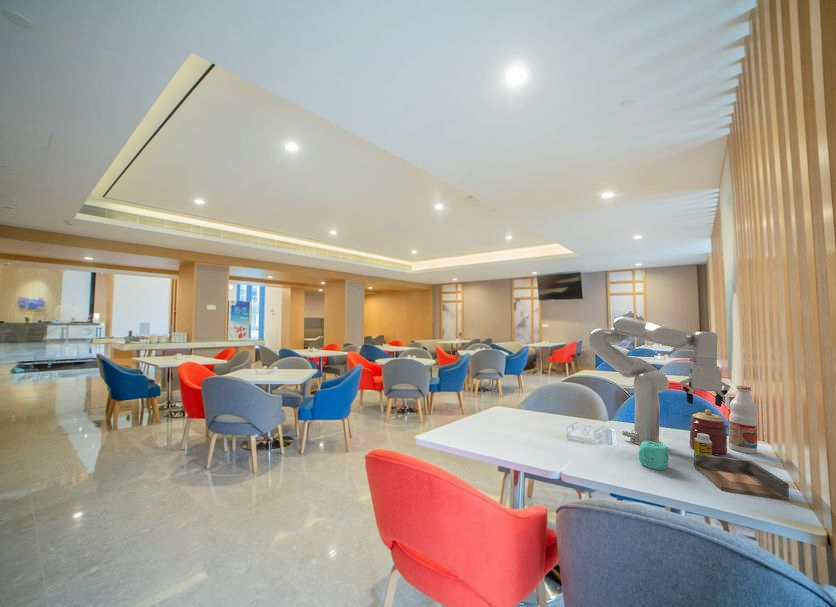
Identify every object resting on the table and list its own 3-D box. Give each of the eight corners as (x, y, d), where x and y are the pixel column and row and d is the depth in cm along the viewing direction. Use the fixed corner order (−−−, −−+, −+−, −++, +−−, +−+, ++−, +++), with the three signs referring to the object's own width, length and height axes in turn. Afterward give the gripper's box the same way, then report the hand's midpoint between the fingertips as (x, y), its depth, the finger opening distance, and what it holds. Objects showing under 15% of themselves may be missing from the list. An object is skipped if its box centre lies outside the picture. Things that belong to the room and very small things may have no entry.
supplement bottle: (697, 461, 146) (697, 435, 146) (691, 456, 151) (692, 431, 151) (714, 463, 144) (714, 437, 144) (707, 458, 149) (708, 433, 150)
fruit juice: (735, 445, 168) (736, 384, 169) (761, 452, 160) (762, 388, 161) (723, 447, 165) (725, 384, 166) (749, 455, 156) (750, 389, 157)
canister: (733, 458, 152) (734, 415, 152) (695, 452, 156) (696, 411, 156) (718, 447, 164) (719, 408, 165) (684, 443, 168) (685, 404, 169)
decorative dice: (668, 466, 139) (669, 445, 139) (663, 472, 134) (663, 450, 134) (644, 460, 145) (645, 439, 145) (638, 465, 139) (639, 443, 140)
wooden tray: (721, 490, 121) (721, 474, 121) (693, 466, 140) (693, 453, 140) (788, 500, 116) (788, 484, 116) (750, 474, 135) (750, 460, 135)
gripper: (684, 361, 148) (683, 404, 147) (735, 365, 143) (734, 409, 142) (676, 359, 155) (675, 400, 154) (725, 362, 150) (724, 404, 150)
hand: (704, 404), depth 148 cm, fingers open, 9 cm apart
